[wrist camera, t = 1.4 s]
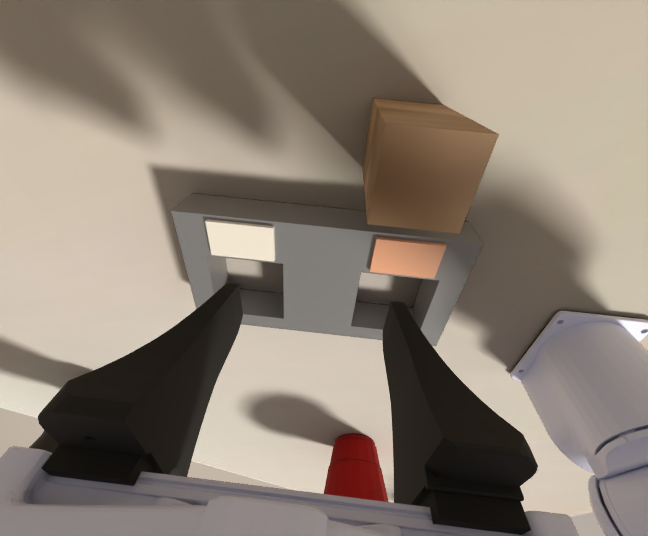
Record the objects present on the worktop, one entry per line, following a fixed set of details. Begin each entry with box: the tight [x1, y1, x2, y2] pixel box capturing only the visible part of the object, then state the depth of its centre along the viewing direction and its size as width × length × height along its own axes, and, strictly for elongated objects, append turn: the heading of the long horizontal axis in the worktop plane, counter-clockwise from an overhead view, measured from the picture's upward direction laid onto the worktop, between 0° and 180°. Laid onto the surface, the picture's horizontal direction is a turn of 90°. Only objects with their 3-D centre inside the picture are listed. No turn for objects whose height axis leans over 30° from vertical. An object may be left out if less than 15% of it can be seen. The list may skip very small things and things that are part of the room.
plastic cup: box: [324, 434, 388, 502], centre depth 37 cm, size 11×11×12 cm
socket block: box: [171, 193, 484, 346], centre depth 23 cm, size 10×20×3 cm, turn 86°
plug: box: [363, 98, 499, 234], centre depth 15 cm, size 4×4×8 cm
